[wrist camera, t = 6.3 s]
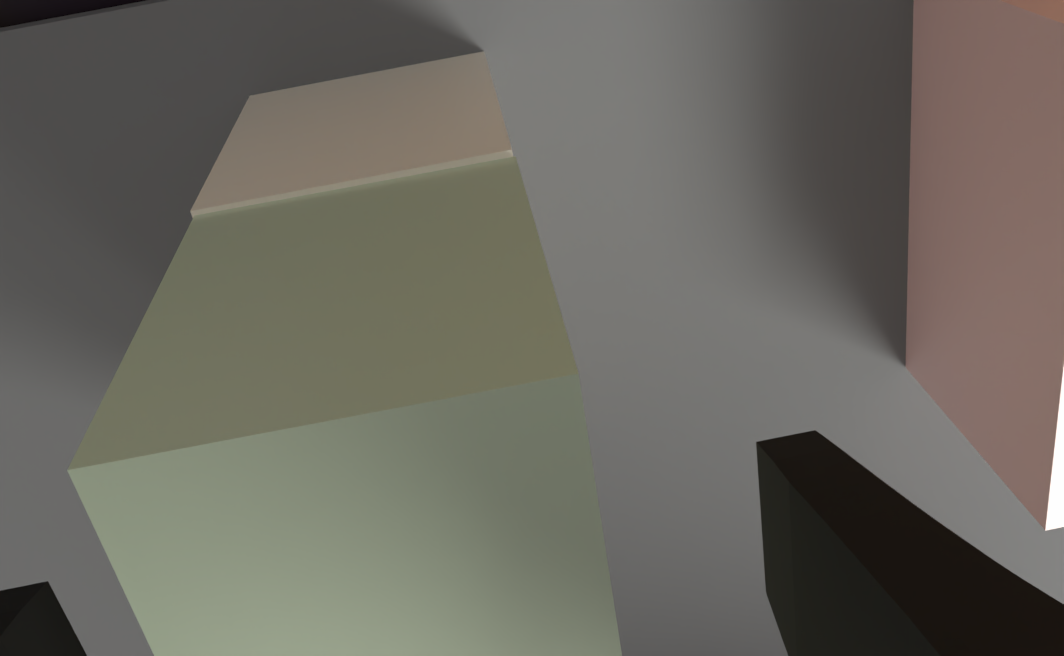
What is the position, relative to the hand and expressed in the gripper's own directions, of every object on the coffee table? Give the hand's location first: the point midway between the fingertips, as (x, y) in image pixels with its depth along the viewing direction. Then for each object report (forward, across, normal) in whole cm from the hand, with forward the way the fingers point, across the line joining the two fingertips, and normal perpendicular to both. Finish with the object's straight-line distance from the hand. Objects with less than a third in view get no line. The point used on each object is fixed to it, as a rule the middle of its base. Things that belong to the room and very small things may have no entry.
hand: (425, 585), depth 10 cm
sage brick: (+2, 0, 0) cm, 2 cm away
